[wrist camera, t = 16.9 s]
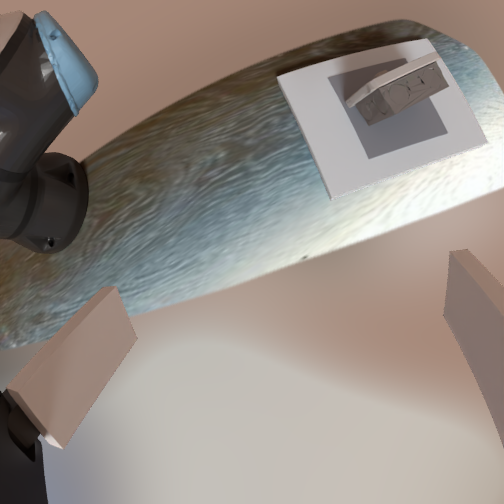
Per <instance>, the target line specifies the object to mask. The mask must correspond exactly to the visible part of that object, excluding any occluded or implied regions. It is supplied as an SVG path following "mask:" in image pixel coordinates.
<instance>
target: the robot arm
mask: <svg viewBox="0 0 504 504" xmlns="http://www.w3.org/2000/svg"><path fill="white" fill-rule="evenodd" d="M97 87H98V76H97V74H96V72H95V70H94V69H93V67H92V66H91V64H90V63H89V62H88V60H87V59H86V58H85V56H84V55H83V54H82V52H81V51H80V50H79V48H78V47H77V46H76V45H75V43H74V42H73V41H72V40H71V38H70V37H69V36H68V35H67V33H66V32H65V31H64V30H63V28H62V27H61V26H60V25H59V24H58V23H57V21H56V20H55V19H54V18H53V17H52V16H51V15H50V14H49V13H48V12H47V11H41V12H40V13H38V14H35V16H34V18H33V19H31V18H30V17H28V16H27V15H26V14H24V13H23V12H22V11H20V10H19V11H15V12H10V13H6V14H3V15H0V239H10V240H12V241H14V242H16V243H18V244H20V245H22V246H24V247H26V248H28V249H29V250H31V251H34V252H37V253H50V254H51V253H57V252H59V251H61V250H63V249H65V248H66V247H67V246H68V245H69V244H70V243H71V242H72V241H73V240H74V238H75V237H76V235H77V234H78V232H79V230H80V228H81V226H82V223H83V221H84V218H85V214H86V209H87V203H88V186H87V180H86V176H85V173H84V171H83V169H82V167H81V166H80V164H79V163H78V162H77V161H76V160H75V159H73V158H71V157H69V156H67V155H64V154H61V153H56V152H52V153H44V152H45V151H46V150H47V148H48V147H49V146H50V144H51V143H52V142H53V141H54V140H55V138H56V137H57V136H58V135H59V133H60V132H61V131H62V130H63V129H64V127H65V126H66V125H67V124H68V123H69V122H70V121H71V119H72V118H73V117H74V116H75V117H76V116H77V115H78V114H79V110H80V109H81V108H82V107H83V105H84V104H85V103H86V102H87V101H88V100H89V99H90V97H91V96H92V95H93V94H94V93H95V91H96V89H97ZM443 316H444V317H445V319H446V321H447V323H448V325H449V327H450V328H451V330H452V332H453V334H454V336H455V338H456V340H457V342H458V344H459V345H460V348H461V350H462V352H463V354H464V355H465V358H466V360H467V362H468V364H469V366H470V368H471V370H472V372H473V374H474V376H475V379H476V381H477V383H478V385H479V387H480V390H481V392H482V394H483V396H484V399H485V401H486V403H487V406H488V408H489V410H490V413H491V415H492V418H493V420H494V423H495V425H496V428H497V431H498V433H499V436H500V439H501V441H502V444H503V447H504V287H503V286H502V285H501V284H500V283H499V282H498V280H497V279H496V278H495V277H494V276H493V275H492V274H491V273H490V272H489V271H488V270H487V269H486V268H485V267H484V266H483V265H482V264H481V262H480V261H478V259H477V258H476V257H475V256H474V255H473V254H472V253H470V251H468V249H465V250H457V251H450V255H449V269H448V281H447V290H446V299H445V307H444V314H443ZM137 339H138V338H137V336H136V334H135V331H134V329H133V327H132V324H131V322H130V319H129V317H128V315H127V312H126V310H125V307H124V305H123V302H122V300H121V297H120V295H119V292H118V290H117V287H116V286H110V287H102V288H101V289H100V290H99V291H98V292H97V293H96V294H95V295H94V296H93V297H92V298H91V299H90V300H89V301H88V302H87V303H86V304H85V305H84V306H83V307H82V308H81V309H80V310H79V311H78V312H77V313H76V314H75V315H74V316H73V317H72V318H71V319H70V320H69V321H68V322H67V323H66V324H65V325H64V326H63V327H62V328H61V329H60V330H59V331H58V332H57V333H56V334H55V335H54V336H53V337H52V338H51V339H50V340H49V341H48V342H47V343H46V344H45V345H44V346H43V347H42V348H41V349H40V350H39V352H38V353H37V354H36V355H35V356H34V357H33V358H32V359H31V360H30V361H29V362H28V363H27V364H26V366H25V367H24V368H23V369H22V370H21V371H20V372H19V373H18V374H17V375H16V377H15V378H14V379H13V380H12V381H11V382H10V383H9V384H8V385H7V387H6V390H5V391H4V392H3V393H1V391H0V504H48V500H47V493H46V484H45V476H44V465H43V453H42V445H41V442H40V441H39V440H38V436H39V435H40V433H41V435H42V436H43V437H44V438H45V439H46V440H47V441H48V443H49V444H51V445H53V446H56V447H58V448H61V449H64V448H65V447H66V445H67V443H68V442H69V441H70V439H71V437H72V436H73V434H74V433H75V431H76V430H77V428H78V427H79V425H80V423H81V422H82V420H83V419H84V417H85V416H86V414H87V413H88V411H89V410H90V408H91V407H92V405H93V404H94V402H95V401H96V399H97V398H98V396H99V394H100V393H101V391H102V390H103V389H104V387H105V386H106V384H107V382H108V381H109V380H110V378H111V377H112V375H113V374H114V372H115V371H116V369H117V368H118V366H119V365H120V364H121V362H122V360H123V359H124V358H125V356H126V355H127V353H128V352H129V351H130V349H131V348H132V346H133V345H134V343H135V342H136V340H137Z"/></svg>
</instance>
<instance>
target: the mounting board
mask: <svg viewBox="0 0 504 504" xmlns="http://www.w3.org/2000/svg"><path fill="white" fill-rule="evenodd" d="M435 51H436V50H435V49H434V47H433V46H432V44H431V43H430V42H429V40H428V39H421V40H415V41H409V42H404V43H398V44H393V45H389V46H384V47H379V48H375V49H370V50H366V51H362V52H358V53H354V54H350V55H346V56H342V57H339V58H335V59H331V60H328V61H324V62H321V63H318V64H314V65H311V66H308V67H305V68H301V69H298V70H295V71H292V72H289V73H286V74H283V75H281V76H278V77H277V80H278V85H279V87H280V89H281V91H282V93H283V95H284V97H285V99H286V101H287V103H288V105H289V107H290V109H291V111H292V113H293V116H294V118H295V120H296V122H297V124H298V126H299V128H300V131H301V133H302V135H303V137H304V139H305V142H306V144H307V146H308V148H309V151H310V153H311V155H312V157H313V160H314V162H315V164H316V167H317V169H318V171H319V174H320V176H321V179H322V181H323V183H324V186H325V188H326V191H327V193H328V196H329V198H330V201H331V200H334V199H336V198H339V197H342V196H344V195H347V194H350V193H353V192H355V191H358V190H361V189H364V188H366V187H369V186H372V185H375V184H377V183H380V182H383V181H386V180H388V179H391V178H394V177H397V176H400V175H402V174H405V173H408V172H411V171H414V170H416V169H419V168H422V167H425V166H428V165H431V164H433V163H436V162H439V161H442V160H445V159H448V158H451V157H453V156H456V155H459V154H462V153H465V152H468V151H471V150H474V149H477V148H480V147H482V146H483V145H485V144H486V143H488V141H487V139H486V137H485V135H484V133H483V131H482V129H481V127H480V125H479V123H478V121H477V119H476V117H475V115H474V113H473V111H472V109H471V107H470V105H469V104H468V102H467V100H466V98H465V96H464V95H463V93H462V91H461V89H460V88H459V86H458V84H457V83H456V81H455V79H454V78H453V76H452V75H451V73H450V71H449V70H448V68H447V67H446V65H445V64H444V62H443V60H442V59H440V60H438V61H436V62H437V64H438V66H439V68H440V69H441V71H442V74H443V76H444V78H445V80H446V81H447V83H448V85H449V87H447V88H445V89H443V90H441V91H439V92H438V93H436V94H434V95H432V96H430V97H428V98H426V99H424V100H422V101H420V102H418V103H416V104H415V105H413V106H411V107H409V108H407V109H405V110H403V111H401V112H400V113H398V114H396V115H395V114H394V116H391V117H389V118H386V119H384V120H382V121H379V122H377V123H375V124H372V125H370V126H368V124H367V122H366V121H365V119H364V117H363V116H362V115H361V114H360V113H359V111H358V109H357V108H356V106H353V107H351V108H349V107H348V106H347V104H346V102H345V101H346V100H347V99H348V98H349V97H351V96H352V95H353V94H354V93H355V92H356V91H357V90H359V89H360V88H361V87H362V86H363V85H365V84H366V83H368V82H369V81H371V80H373V78H374V76H375V75H376V74H377V73H379V72H381V71H384V70H387V71H388V72H389V71H391V70H394V69H396V68H398V67H400V66H402V65H404V64H407V63H409V62H411V61H413V60H416V59H418V58H420V57H423V56H425V55H427V54H430V53H432V52H435Z"/></svg>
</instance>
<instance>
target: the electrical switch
mask: <svg viewBox="0 0 504 504" xmlns="http://www.w3.org/2000/svg"><path fill="white" fill-rule="evenodd" d="M440 59H441V57H440V56H439V54H438V53H437V52H436V51H435V52H432V53H430V54H427V55H425V56H423V57H420V58H418V59H416V60H413V61H411V62H409V63H407V64H404V65H402V66H400V67H398V68H396V69H394V70H391V71H389V72H388V71H387V70H384V71H381V72H379V73H377V74H376V75H375V76H374V78H373V80H371V81H369V82H368V83H366V84H365V85H363V86H362V87H361V88H360V89H359V90H357V91H356V92H355V93H354V94H353V95H352V96H351V97H349V98H348V99H347V100H346V101H345V102H346V104H347V106H348V107H349V108H351V107H353V106H356V108H357V109H358V111H359V113H360V114H361V115H362V116H363V117H364V119H365V121H366V122H367V124H368V126H370V125H372V124H375V123H377V122H379V121H382V120H384V119H386V118H389V117H391V116H394V114H395V115H396V114H398V113H400V112H401V111H403V110H405V109H407V108H409V107H411V106H413V105H415V104H416V103H418V102H420V101H422V100H424V99H426V98H428V97H430V96H432V95H434V94H436V93H438V92H439V91H441V90H443V89H445V88H447V87H449V85H448V83H447V81H446V80H445V78H444V76H443V74H442V71H441V69H440V68H439V66H438V64H437V62H436V61H438V60H440Z"/></svg>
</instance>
